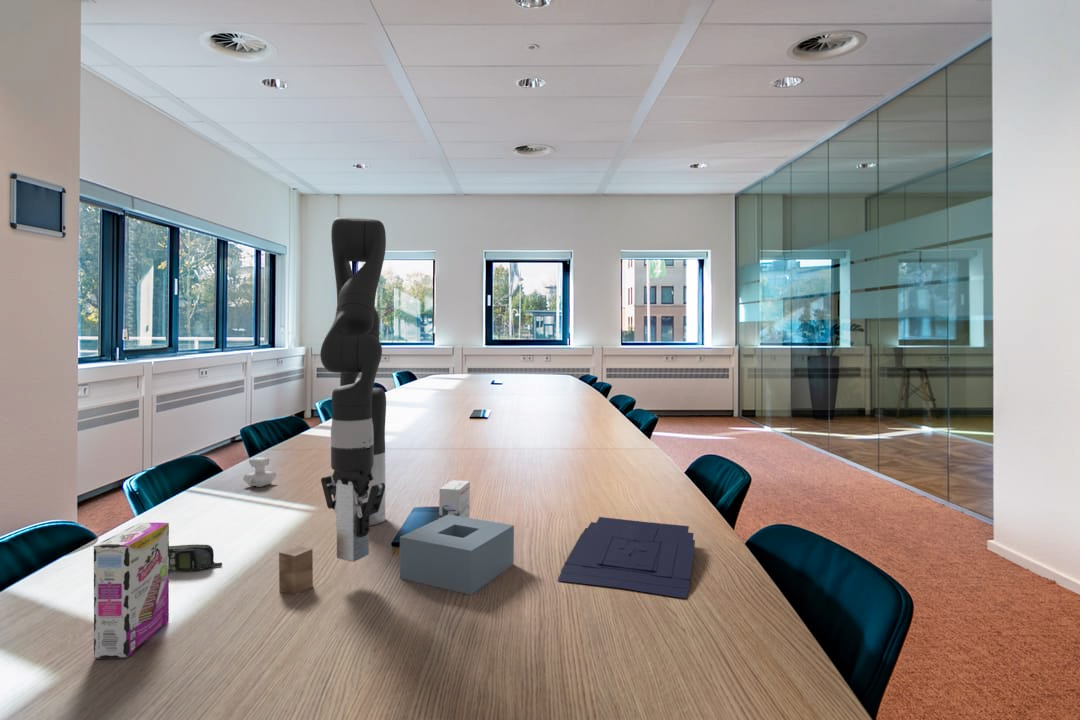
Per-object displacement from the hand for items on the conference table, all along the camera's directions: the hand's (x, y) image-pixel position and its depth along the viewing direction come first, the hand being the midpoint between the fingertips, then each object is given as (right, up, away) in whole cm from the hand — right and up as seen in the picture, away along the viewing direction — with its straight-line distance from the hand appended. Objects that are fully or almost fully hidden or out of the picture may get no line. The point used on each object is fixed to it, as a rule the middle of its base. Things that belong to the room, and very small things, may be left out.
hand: (352, 533), depth 110 cm
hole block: (+19, -9, +7) cm, 22 cm away
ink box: (+15, -9, +29) cm, 33 cm away
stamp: (-51, -6, +71) cm, 88 cm away
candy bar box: (-27, -10, -20) cm, 35 cm away
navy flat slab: (+54, -10, +13) cm, 56 cm away
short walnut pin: (-10, -10, -2) cm, 14 cm away
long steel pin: (0, -4, 0) cm, 4 cm away
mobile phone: (-36, -9, +6) cm, 38 cm away
